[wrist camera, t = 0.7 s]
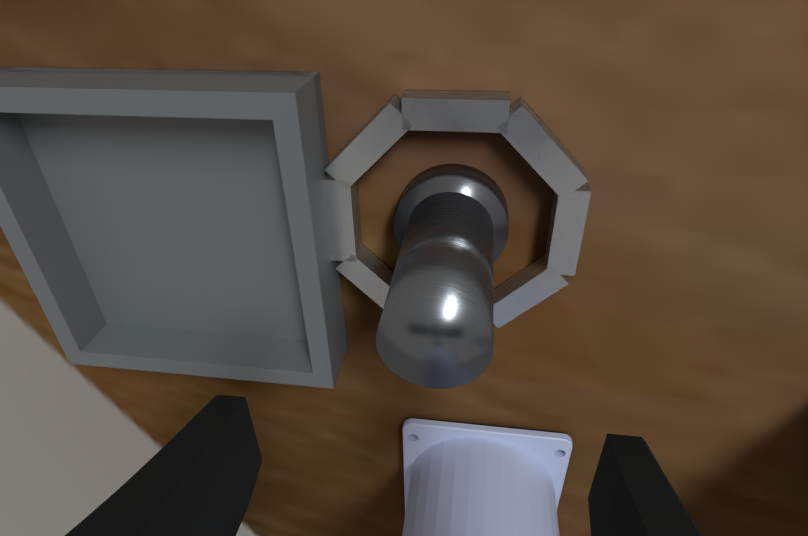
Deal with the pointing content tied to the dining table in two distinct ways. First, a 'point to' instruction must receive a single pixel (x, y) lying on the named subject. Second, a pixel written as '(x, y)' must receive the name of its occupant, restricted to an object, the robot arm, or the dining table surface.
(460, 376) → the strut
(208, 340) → the tray
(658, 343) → the dining table surface
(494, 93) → the seat ring
